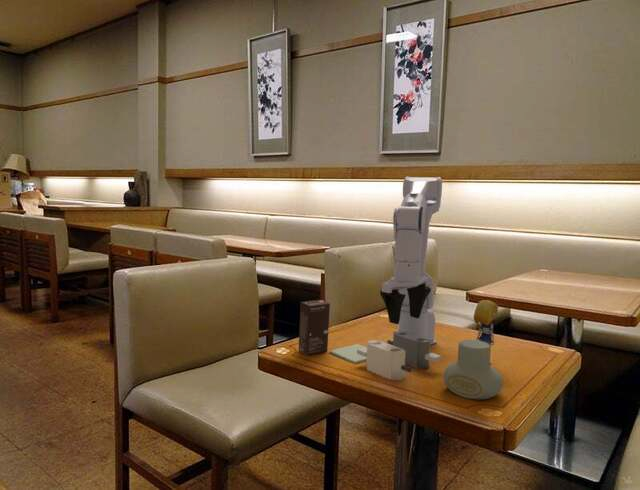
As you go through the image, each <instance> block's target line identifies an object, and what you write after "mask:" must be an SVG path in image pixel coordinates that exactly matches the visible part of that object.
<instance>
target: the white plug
mask: <svg viewBox="0 0 640 490" xmlns="http://www.w3.org/2000/svg"><path fill="white" fill-rule="evenodd" d="M366 347H367V349H366V348H361V349H357V354H359V355H361V356H364V357H366V361H365V362H366V363H365V369H366V370H367V371H368V372H370V371H371V372H370V373H373V374H375V373H376V375H377V376H380V375H381V377H383V378H385V379H387V378H388V379H387V380H390V381H395V380H398V381H399V380H401V381H404V380H405V372H408V373H411V372H412V370H413V368H411V367H409V366H407V365H406V364H405V350H404V349H401V348H398V347H396V346H393V345H390V344H388V343H387V342H384V341H381V340H376V339H372V340H371V339H370V340H368V341H366ZM391 379H392V380H391ZM403 379H404V380H403ZM398 381H397V382H398ZM399 382H400V381H399Z"/></svg>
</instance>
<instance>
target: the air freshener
mask: <svg viewBox="0 0 640 490" xmlns="http://www.w3.org/2000/svg"><path fill="white" fill-rule="evenodd" d="M457 349H458V351H457V361H453V362H452V363H450V364H449V365H448V366H447V367H446V368H445V369H444V372H443V375H442V377H443V382H444V384H445V385H446V387H447V388H448V390H450V391H451V392H452V393H453V394H455V395H457V396H459V397H462V398H465V399H469V400H475V401H476V400H477V401H480V400H481V401H483V400H487V399H491V398H493V397H495V396H497V395H499V393H500V392H501V391H502V388H503V385H504V380H503V377H502V375H501V374H500V372H499V371H498V370H497V369H496V368H495V367H494V366H492V365H490V363H491V353H490V352H492V351H491V349H492V346H491V347H490V345H489V344H487V343H485V342H482V341H480V340H479V339H478V340H476V339H464V340H461V341H460V342H459V343H458V348H457Z"/></svg>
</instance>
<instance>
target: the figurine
mask: <svg viewBox="0 0 640 490" xmlns="http://www.w3.org/2000/svg"><path fill="white" fill-rule="evenodd" d="M498 312H499V305H497V304H496V303H495V302H494V301H492V300H489V299H482V300H480V301H478V303H477V305H476V307H475V309H474V312H473V313H474V314H473V321H474V323H475V324H477V325H479V326H478V328H479V329H478V333H477V336H476V339H475V340H478V341H482V342H485V343H487V344H489V345H490V347H491V348H492V346H494V345H495V337H494V332H493V331H494V325H493V323H492V320H493V319H494V318H495V315H497V314H498ZM491 352H492V351H491ZM491 352H490V354H491ZM490 366H492V363H491V362H490Z"/></svg>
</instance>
